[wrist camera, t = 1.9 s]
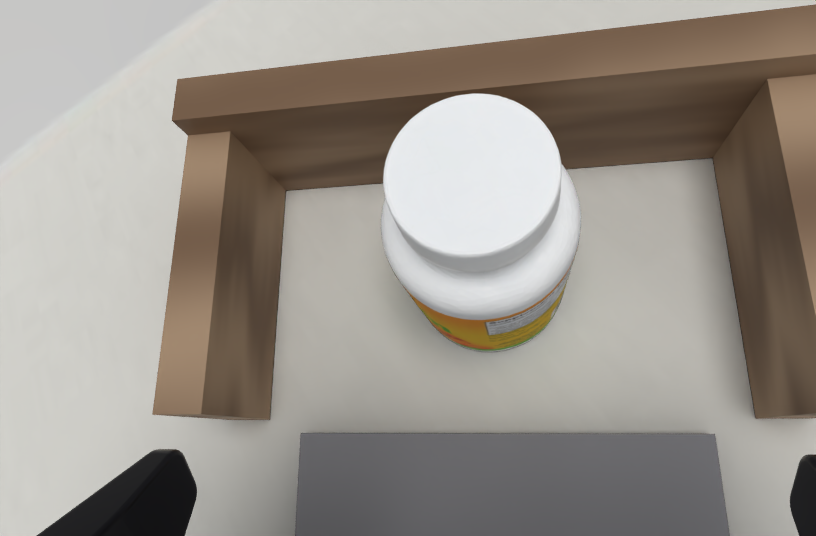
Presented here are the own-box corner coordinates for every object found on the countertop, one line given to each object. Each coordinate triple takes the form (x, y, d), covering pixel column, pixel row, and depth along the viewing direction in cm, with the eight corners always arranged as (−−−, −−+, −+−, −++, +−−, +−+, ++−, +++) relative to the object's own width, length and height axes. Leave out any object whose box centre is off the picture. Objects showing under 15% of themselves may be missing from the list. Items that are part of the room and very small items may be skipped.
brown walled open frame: (809, 418, 19) (937, 409, 13) (230, 419, 22) (131, 413, 16) (751, 116, 22) (834, 2, 16) (253, 159, 25) (177, 79, 20)
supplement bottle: (396, 259, 23) (313, 138, 14) (515, 192, 23) (512, 25, 13) (462, 380, 21) (417, 335, 12) (591, 309, 21) (649, 207, 12)
